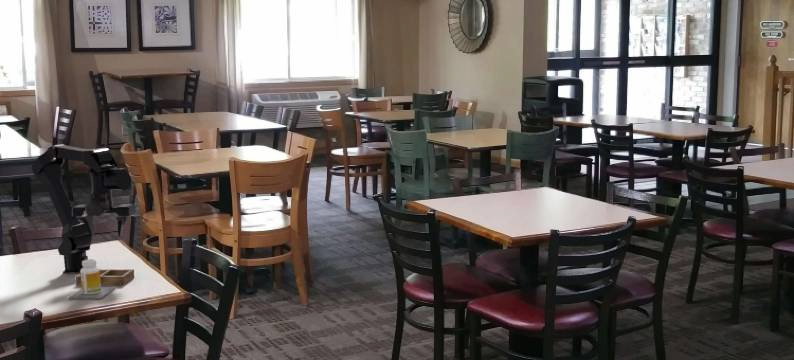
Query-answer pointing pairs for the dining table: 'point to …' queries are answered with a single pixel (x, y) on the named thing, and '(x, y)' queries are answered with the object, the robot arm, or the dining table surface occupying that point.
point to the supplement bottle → (90, 277)
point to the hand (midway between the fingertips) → (106, 236)
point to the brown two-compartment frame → (112, 276)
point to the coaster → (100, 295)
